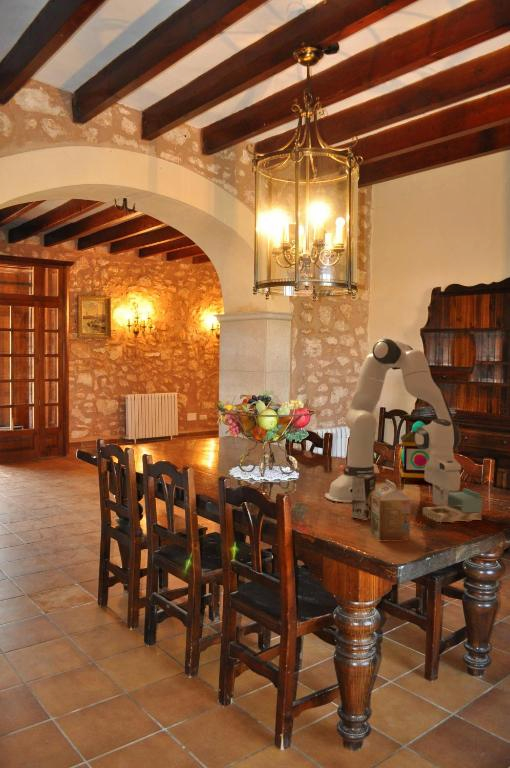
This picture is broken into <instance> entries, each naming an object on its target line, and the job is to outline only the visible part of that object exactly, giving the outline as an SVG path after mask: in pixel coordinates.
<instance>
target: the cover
mask: <svg viewBox="0 0 510 768" xmlns="http://www.w3.org/2000/svg"><path fill="white" fill-rule="evenodd" d="M481 495H482V494H481V493H479V492H476V491H474V490H471V489H468V488H462V491H450V492H449V494H448V505H446V506H454V505H461V512H462V513H468V512H481V513H482V512H483V511H482V510H483V509H482V508H483V498H481Z"/></svg>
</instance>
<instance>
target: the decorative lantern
mask: <svg viewBox="0 0 510 768" xmlns="http://www.w3.org/2000/svg"><path fill="white" fill-rule="evenodd" d="M426 425H427V424H425V423H424V422H423V421H422V420H418V421H416V422H414V423H413V425H412V427H411V429H410V431H409V432H407V433H403V435H401V437H400V441H401V443H402V445H401V446H402V448H400V449H399V450H398V453H397V457H398V459H399V460H401V467H400V469H399V477H400V476H401V477H400V481H401V484H403V485H404V484H405V480H407V479H408V480H409V479H410V480H411V479H412V480H425V478H424V474H425V466H426V464H427V461H428V460H429V459H430V450H421V449H419V448H418V447H417V446H416V444H415V441H414V435H415V432H416V430H417V429H418V428H419V427H422V426H426Z"/></svg>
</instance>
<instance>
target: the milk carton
mask: <svg viewBox="0 0 510 768" xmlns="http://www.w3.org/2000/svg"><path fill="white" fill-rule="evenodd" d="M396 486H397V485H396V484H394V483H393V482H391V481H390V480H389V479H385V483H383V484H381V485H379V486H378V487H376V488H375V490H374V491H373V492H372V493H371V518H370V533H371V532H372V533H373V534H374V535H375V536H376V537H377V538H378V539H379V540H406V539H407V540H409V539H410V540H411V499H410V498H409V497H408V496H407V495H406V494H405V493H403V492H401V491H400V490H399V489H398V488H397V487H396ZM372 533H371V534H372ZM373 534H372V535H373ZM374 535H373V536H374ZM375 536H374V537H375ZM376 537H375V538H376Z"/></svg>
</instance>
